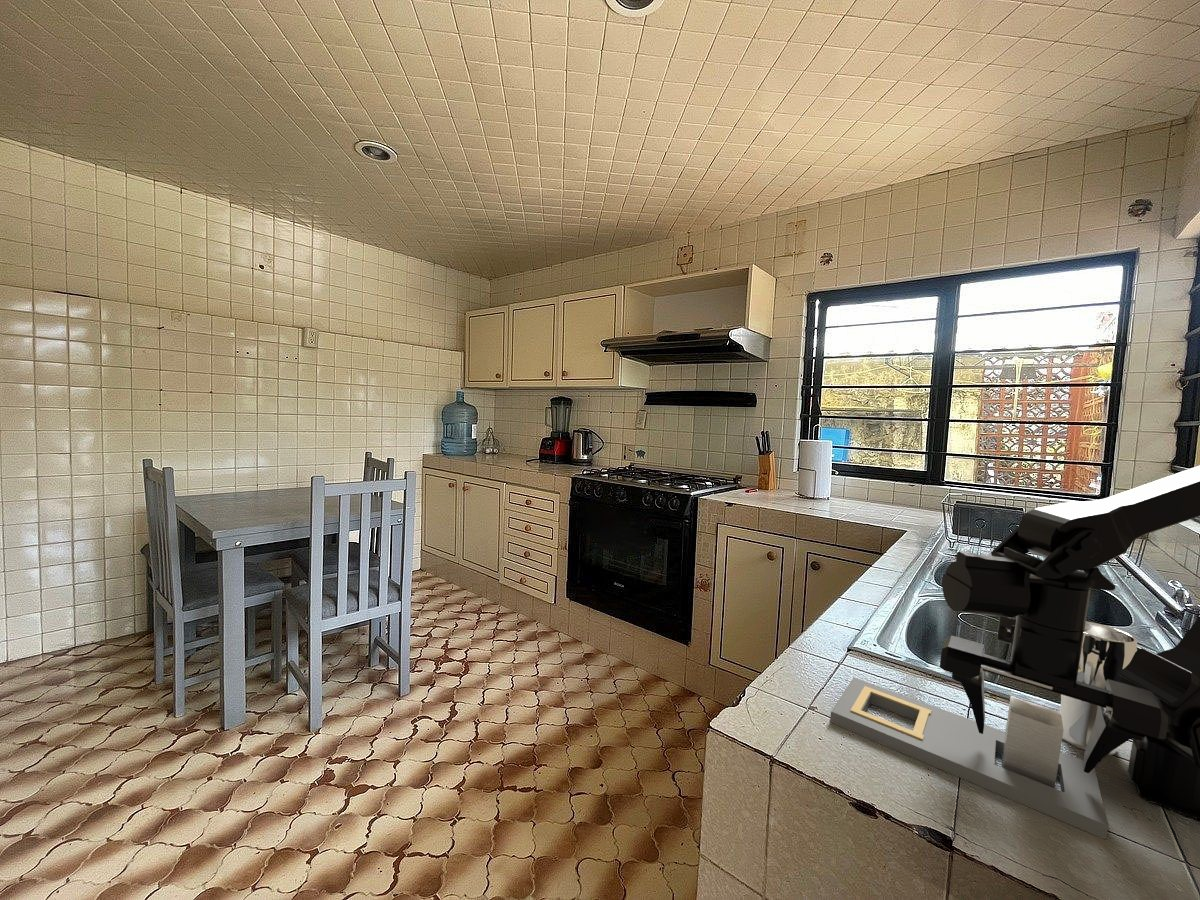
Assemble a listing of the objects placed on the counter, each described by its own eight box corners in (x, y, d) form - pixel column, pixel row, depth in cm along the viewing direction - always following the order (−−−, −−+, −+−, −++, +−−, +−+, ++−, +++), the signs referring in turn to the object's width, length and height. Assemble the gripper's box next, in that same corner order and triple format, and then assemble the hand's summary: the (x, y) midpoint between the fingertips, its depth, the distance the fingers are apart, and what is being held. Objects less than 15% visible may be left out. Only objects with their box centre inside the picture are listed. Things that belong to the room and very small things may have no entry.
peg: (1050, 776, 58) (1060, 711, 58) (1053, 798, 55) (1063, 729, 54) (1001, 757, 61) (1010, 695, 61) (1001, 777, 58) (1010, 711, 57)
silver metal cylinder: (1036, 727, 68) (1052, 621, 66) (1067, 719, 70) (1083, 617, 69) (1102, 763, 61) (1121, 646, 60) (1133, 752, 64) (1152, 640, 62)
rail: (1091, 775, 59) (1093, 762, 59) (1105, 839, 50) (1108, 823, 50) (852, 686, 75) (853, 675, 75) (829, 722, 66) (831, 709, 66)
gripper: (1155, 626, 57) (1134, 755, 58) (955, 581, 69) (941, 689, 70) (1180, 661, 48) (1154, 811, 50) (947, 603, 60) (931, 725, 61)
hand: (1030, 750), depth 58 cm, fingers open, 9 cm apart
